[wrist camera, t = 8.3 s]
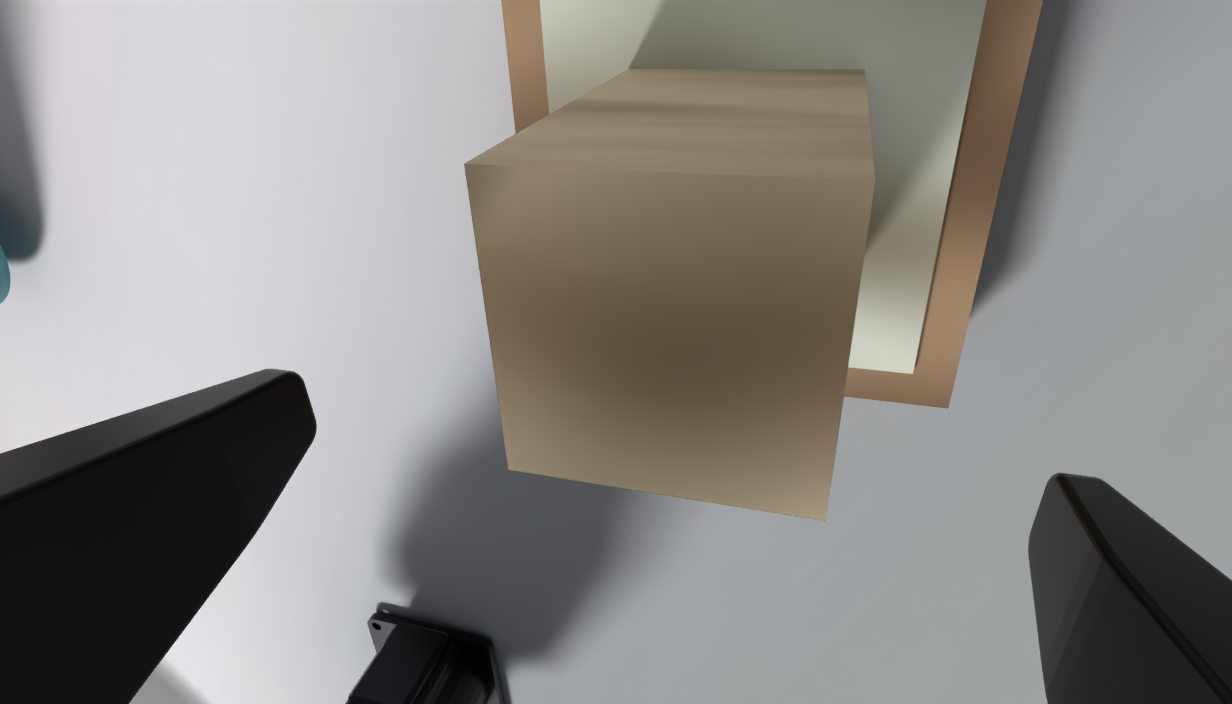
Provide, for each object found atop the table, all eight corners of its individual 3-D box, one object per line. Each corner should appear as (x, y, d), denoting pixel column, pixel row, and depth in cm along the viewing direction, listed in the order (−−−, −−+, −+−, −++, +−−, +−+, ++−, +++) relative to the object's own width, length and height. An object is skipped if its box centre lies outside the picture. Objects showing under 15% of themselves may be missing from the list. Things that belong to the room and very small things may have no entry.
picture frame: (936, 350, 20) (948, 412, 18) (574, 315, 23) (537, 364, 20) (1032, -106, 15) (1073, -116, 12) (543, -77, 18) (488, -81, 15)
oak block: (836, 292, 17) (825, 520, 10) (633, 275, 18) (508, 469, 12) (864, 69, 14) (875, 180, 8) (628, 68, 16) (464, 163, 9)
